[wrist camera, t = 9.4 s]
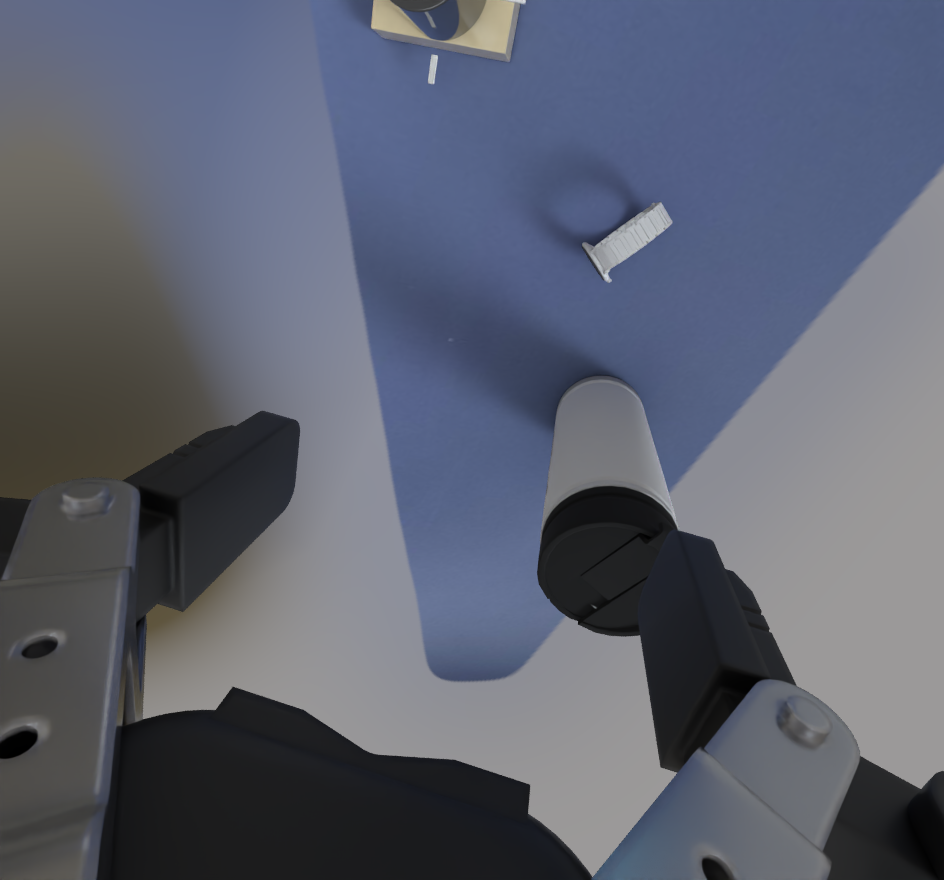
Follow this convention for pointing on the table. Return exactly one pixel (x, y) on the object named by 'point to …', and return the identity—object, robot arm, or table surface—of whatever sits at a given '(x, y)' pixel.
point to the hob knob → (441, 16)
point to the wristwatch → (627, 239)
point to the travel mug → (602, 507)
